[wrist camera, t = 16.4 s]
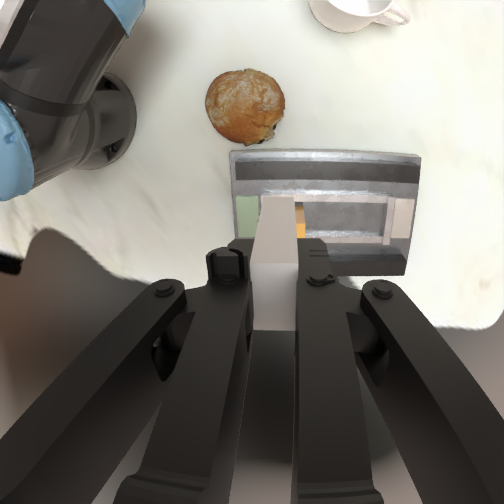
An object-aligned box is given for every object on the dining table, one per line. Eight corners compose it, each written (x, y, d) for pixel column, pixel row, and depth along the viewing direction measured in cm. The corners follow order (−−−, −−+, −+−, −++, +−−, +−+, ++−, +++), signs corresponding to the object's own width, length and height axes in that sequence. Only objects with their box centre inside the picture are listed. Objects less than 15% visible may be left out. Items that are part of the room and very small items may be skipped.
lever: (280, 231, 45) (279, 254, 39) (280, 201, 43) (279, 220, 37) (302, 231, 45) (304, 254, 39) (302, 201, 43) (305, 220, 37)
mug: (383, 55, 34) (412, 45, 24) (299, 19, 33) (304, -4, 23) (402, 7, 30) (433, -12, 20) (320, -29, 29) (329, -61, 19)
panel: (239, 265, 51) (236, 280, 47) (231, 150, 42) (226, 156, 39) (401, 266, 48) (408, 280, 44) (416, 154, 40) (427, 161, 36)
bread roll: (281, 78, 40) (275, 49, 32) (291, 144, 41) (288, 124, 33) (212, 90, 42) (195, 64, 34) (218, 155, 42) (200, 138, 34)
